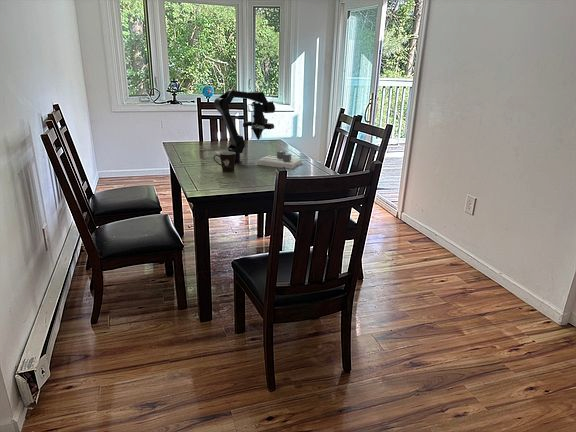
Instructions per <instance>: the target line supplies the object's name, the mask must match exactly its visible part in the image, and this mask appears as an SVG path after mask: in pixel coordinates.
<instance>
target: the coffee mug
mask: <svg viewBox="0 0 576 432" xmlns="http://www.w3.org/2000/svg"><path fill="white" fill-rule="evenodd" d="M235 156H236V153H235V152H230V151H221V152H219V154H215V155H213V161H214V162H215V163H217V164H218V165H220V166H221V171H222V172H223V173H234V172H235V165H236V164H235ZM215 157H219V159H220V162H221V163H220V162H218V161H217V160H216V159H215Z"/></svg>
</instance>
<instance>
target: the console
mask: <svg viewBox="0 0 576 432" xmlns="http://www.w3.org/2000/svg"><path fill="white" fill-rule="evenodd" d="M302 161H303V159H302V158H295V157H291V161H283V158H277V155H274V156H273V155H266V156H264V157H261V158H260V159H258V160H256V165H258V166H267V167H275V168H283V167H285V168H283V169H291V170H292V169H294V168H296V167H297V165H298V166H299V165H301V164H302Z"/></svg>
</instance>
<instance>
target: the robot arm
mask: <svg viewBox="0 0 576 432" xmlns="http://www.w3.org/2000/svg"><path fill="white" fill-rule="evenodd" d="M234 98H238V99H239V98H240V99H248V100H250V101H252V103H250V106H253V115H252V117H253V121H249V120H248V121H243V123H242V127H243V128H248V127H251V129H250V130H252V131H253V133H254V135H255V137H256V140H258V141H259V140H260V139H261V136H262V133H263V131H264V130H272V129H275V125H274V123H269V122H268V119H267V118H266V117H265V115H264V114H273V113H275V112H276V106H275V104H274V101H270V100H269V101H268V100H267V98H266V95H265V92H262V91H251V92H248V91H241V90H234V89H228V90H227V91H225V92H224V93H222V94H221V95H220V96H218V97H217V98H215V99H214V102H213V106H214V108H216V110H217V112H218V113H219V114H220V115H221V117H222V119H223V122H224V125H225V126H226V129H227V131H228V134H229V136H230V139H229V141H230V144H229V146H228V147H227V152H235V153H236V156H235V165H236V164H237V165H238V164H240V163H242V162H243V160H241V154H243V152H244V149H245V146H246V140H245V139H244V136H243V135H241V134H239V133H238V131H237V128H236V126H235V125H236V124H235V123H234V121H233V118H232V116H231V112H230V104H231V103H232V101H233V100H234Z"/></svg>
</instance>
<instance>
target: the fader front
mask: <svg viewBox="0 0 576 432" xmlns="http://www.w3.org/2000/svg"><path fill="white" fill-rule="evenodd" d="M291 158H292V154H289V153H285V154H284V155H283V161H291Z"/></svg>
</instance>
